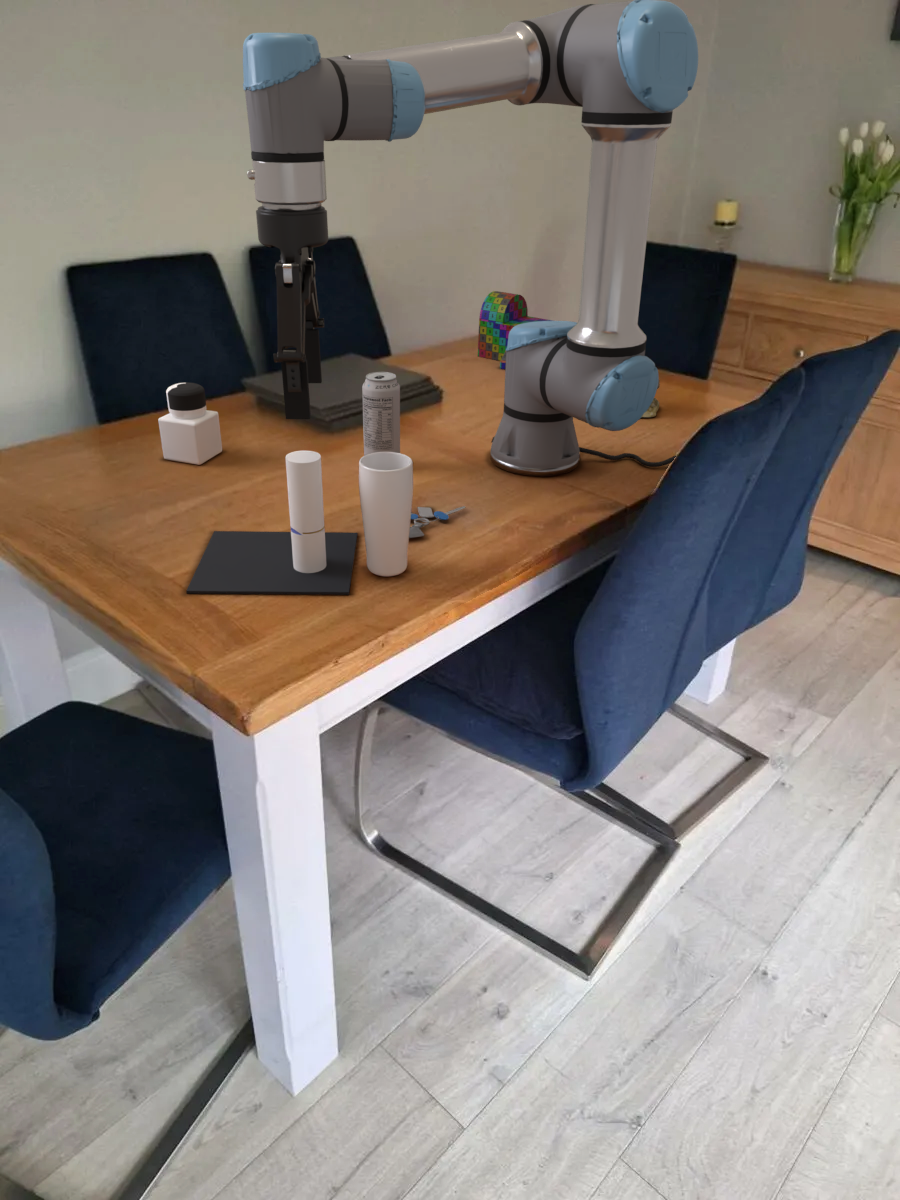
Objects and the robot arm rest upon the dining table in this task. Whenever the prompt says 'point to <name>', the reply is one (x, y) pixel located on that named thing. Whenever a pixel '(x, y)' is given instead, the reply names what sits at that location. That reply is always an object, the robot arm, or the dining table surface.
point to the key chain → (425, 513)
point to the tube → (306, 510)
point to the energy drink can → (381, 413)
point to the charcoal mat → (270, 565)
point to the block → (500, 323)
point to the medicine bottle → (189, 426)
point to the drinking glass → (386, 510)
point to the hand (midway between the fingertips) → (304, 399)
